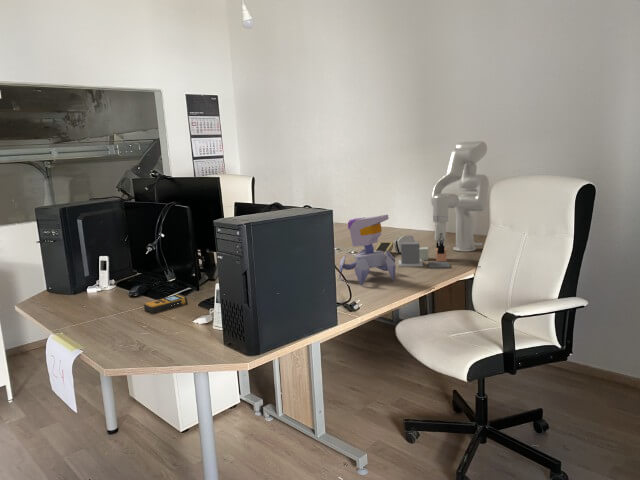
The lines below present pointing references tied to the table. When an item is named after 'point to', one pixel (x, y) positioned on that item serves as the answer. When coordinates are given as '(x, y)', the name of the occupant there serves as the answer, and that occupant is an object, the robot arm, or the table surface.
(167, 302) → the electronic device
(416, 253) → the mounted unit
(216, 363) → the table surface
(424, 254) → the grey block
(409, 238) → the white curved block
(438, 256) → the terracotta block
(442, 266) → the mat
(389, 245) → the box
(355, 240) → the robotic device
